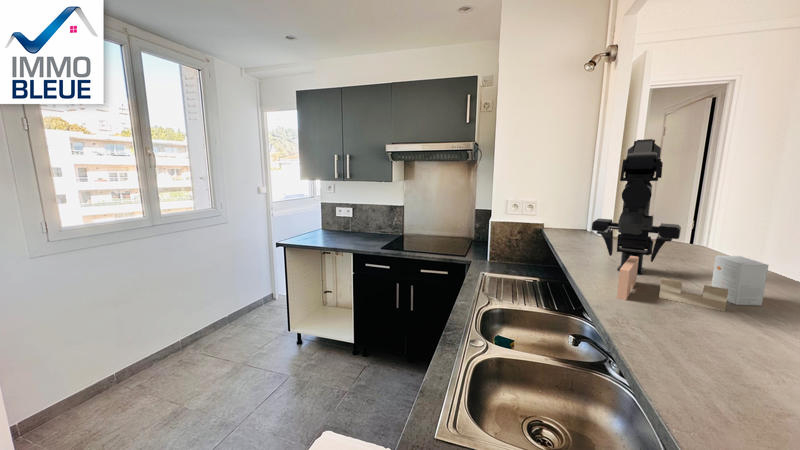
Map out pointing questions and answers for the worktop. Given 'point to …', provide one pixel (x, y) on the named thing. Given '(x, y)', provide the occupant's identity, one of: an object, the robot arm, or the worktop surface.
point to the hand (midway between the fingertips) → (630, 258)
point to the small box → (740, 279)
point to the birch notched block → (694, 295)
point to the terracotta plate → (627, 277)
